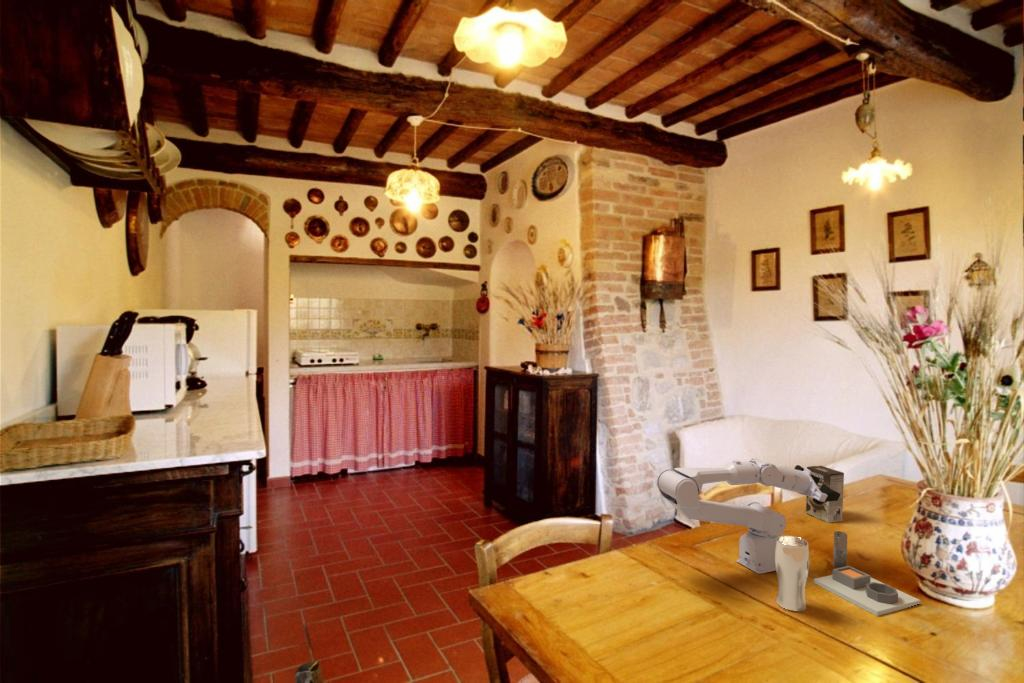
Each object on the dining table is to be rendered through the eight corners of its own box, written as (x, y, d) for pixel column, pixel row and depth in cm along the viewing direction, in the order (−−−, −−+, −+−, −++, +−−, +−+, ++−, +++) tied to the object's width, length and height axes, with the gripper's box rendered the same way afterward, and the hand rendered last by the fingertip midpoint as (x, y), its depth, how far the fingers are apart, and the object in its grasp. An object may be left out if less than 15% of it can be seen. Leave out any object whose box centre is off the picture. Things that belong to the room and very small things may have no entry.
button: (852, 583, 129) (852, 578, 129) (839, 576, 132) (839, 571, 132) (863, 580, 130) (863, 575, 130) (849, 574, 133) (849, 569, 133)
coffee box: (804, 513, 181) (805, 466, 180) (819, 511, 183) (820, 464, 182) (828, 523, 172) (829, 473, 172) (843, 521, 174) (844, 472, 173)
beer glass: (790, 615, 118) (791, 548, 118) (767, 599, 125) (768, 536, 124) (815, 611, 120) (816, 545, 120) (791, 595, 127) (792, 533, 126)
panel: (877, 616, 118) (877, 600, 118) (813, 582, 133) (813, 569, 133) (920, 604, 123) (920, 589, 123) (854, 573, 138) (854, 560, 138)
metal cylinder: (841, 570, 140) (841, 536, 139) (830, 565, 142) (831, 532, 142) (849, 568, 141) (850, 534, 140) (838, 563, 143) (839, 530, 143)
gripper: (814, 480, 136) (854, 491, 140) (777, 453, 150) (815, 463, 153) (801, 504, 138) (842, 514, 141) (766, 474, 151) (804, 484, 155)
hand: (827, 489), depth 147 cm, fingers open, 7 cm apart
